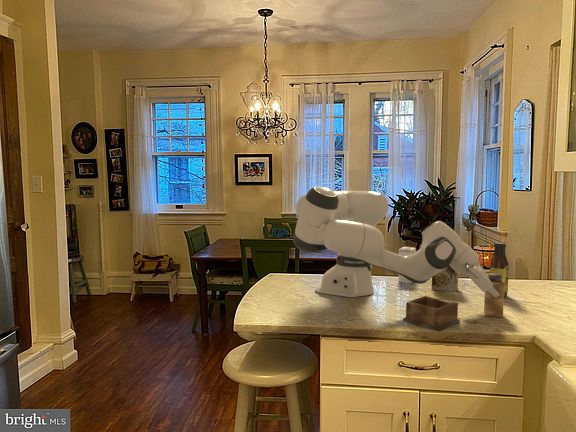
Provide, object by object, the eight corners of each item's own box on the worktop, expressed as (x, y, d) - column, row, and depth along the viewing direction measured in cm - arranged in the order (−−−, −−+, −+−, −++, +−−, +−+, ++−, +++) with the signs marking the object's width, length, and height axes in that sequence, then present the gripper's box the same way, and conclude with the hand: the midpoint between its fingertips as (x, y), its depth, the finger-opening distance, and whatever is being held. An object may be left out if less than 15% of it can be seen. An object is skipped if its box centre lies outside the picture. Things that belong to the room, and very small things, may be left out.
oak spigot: (485, 315, 142) (487, 275, 141) (484, 311, 147) (485, 272, 145) (502, 317, 140) (504, 276, 139) (500, 312, 145) (502, 273, 144)
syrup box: (411, 283, 185) (412, 249, 184) (397, 282, 188) (398, 248, 187) (415, 281, 190) (416, 247, 189) (402, 279, 193) (402, 246, 192)
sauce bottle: (509, 297, 164) (512, 244, 162) (491, 297, 165) (493, 244, 163) (504, 293, 170) (507, 242, 168) (487, 292, 171) (489, 241, 170)
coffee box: (458, 288, 177) (459, 248, 176) (454, 292, 172) (456, 250, 171) (435, 285, 182) (436, 246, 181) (430, 288, 177) (432, 248, 175)
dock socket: (403, 321, 136) (403, 302, 136) (424, 313, 144) (424, 295, 144) (439, 331, 127) (440, 310, 127) (459, 322, 136) (460, 303, 135)
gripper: (475, 260, 134) (509, 295, 132) (469, 250, 153) (499, 280, 151) (459, 274, 136) (492, 308, 134) (455, 262, 155) (484, 292, 153)
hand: (496, 293), depth 143 cm, fingers closed on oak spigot, 5 cm apart
